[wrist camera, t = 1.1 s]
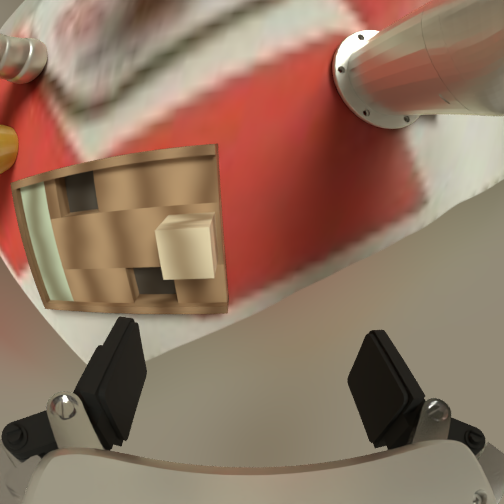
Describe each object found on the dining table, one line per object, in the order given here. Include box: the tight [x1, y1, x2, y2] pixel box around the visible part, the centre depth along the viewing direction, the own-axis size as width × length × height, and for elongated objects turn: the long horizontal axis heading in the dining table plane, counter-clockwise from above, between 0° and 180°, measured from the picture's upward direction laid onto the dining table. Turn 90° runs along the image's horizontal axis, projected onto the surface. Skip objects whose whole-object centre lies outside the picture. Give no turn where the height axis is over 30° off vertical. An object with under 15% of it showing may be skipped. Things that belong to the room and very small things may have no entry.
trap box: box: [11, 144, 229, 314], centre depth 30 cm, size 28×19×3 cm
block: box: [155, 212, 219, 280], centre depth 27 cm, size 5×5×5 cm
